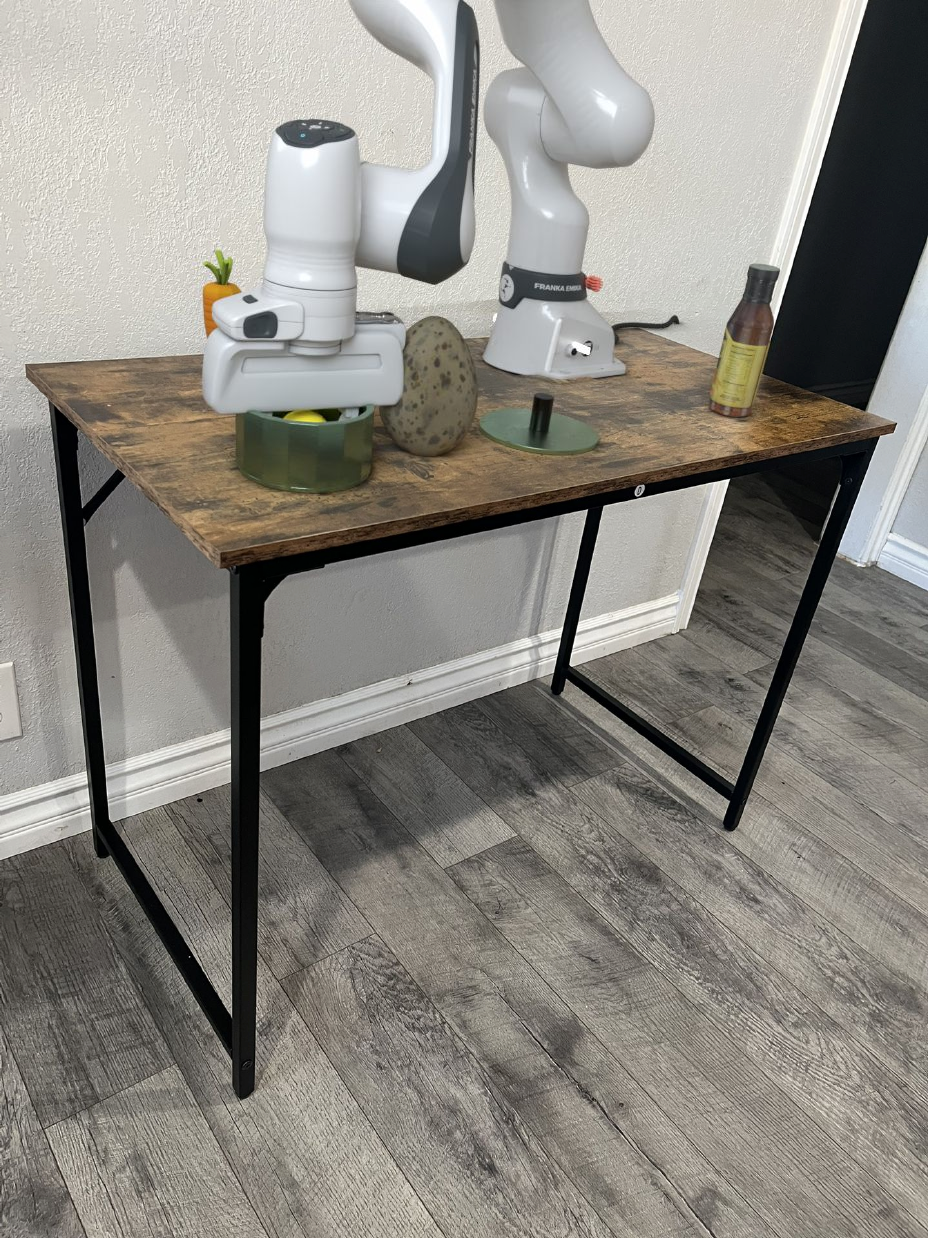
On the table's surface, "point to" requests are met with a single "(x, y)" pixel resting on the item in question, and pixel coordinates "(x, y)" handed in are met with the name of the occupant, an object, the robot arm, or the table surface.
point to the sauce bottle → (745, 345)
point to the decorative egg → (433, 390)
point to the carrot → (217, 289)
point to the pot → (305, 450)
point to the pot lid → (539, 429)
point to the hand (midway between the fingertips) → (304, 449)
